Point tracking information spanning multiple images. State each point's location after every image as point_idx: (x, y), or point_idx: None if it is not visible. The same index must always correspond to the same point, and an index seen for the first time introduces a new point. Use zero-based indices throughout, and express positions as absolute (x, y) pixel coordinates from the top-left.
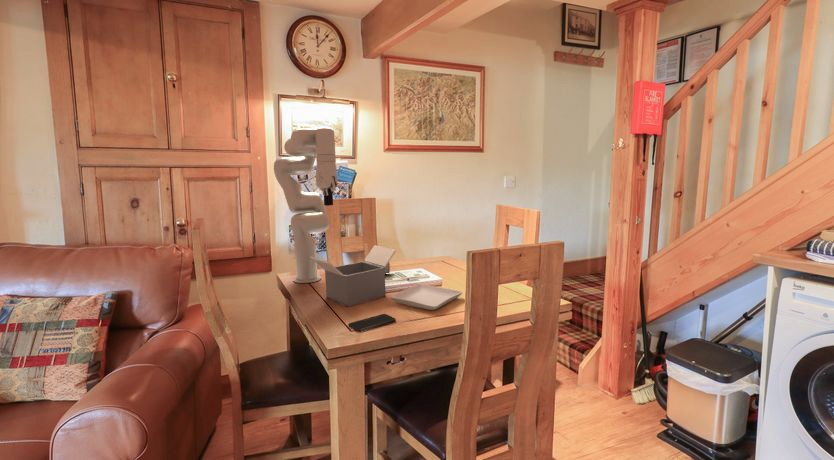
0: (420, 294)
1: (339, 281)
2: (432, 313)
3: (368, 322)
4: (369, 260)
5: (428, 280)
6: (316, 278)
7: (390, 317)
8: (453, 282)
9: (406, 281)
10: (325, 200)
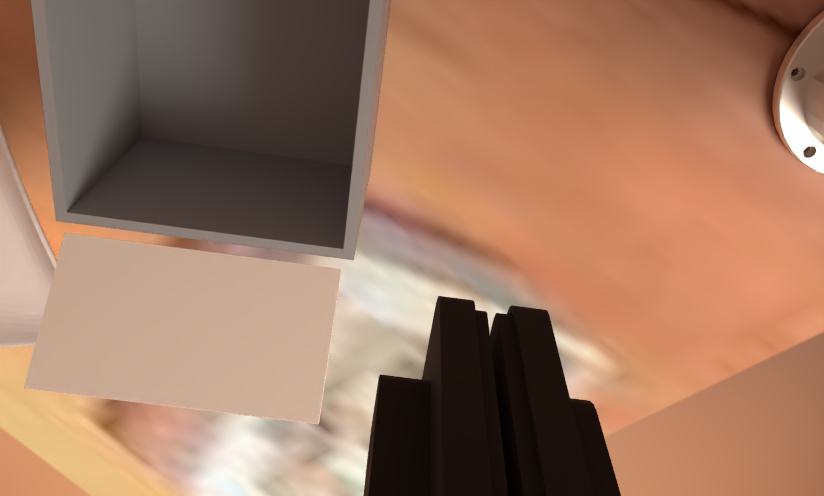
0: (7, 257)
1: None
2: None
3: None
4: (275, 272)
5: (218, 452)
6: (791, 108)
7: None
8: (102, 484)
9: None
10: (465, 381)
